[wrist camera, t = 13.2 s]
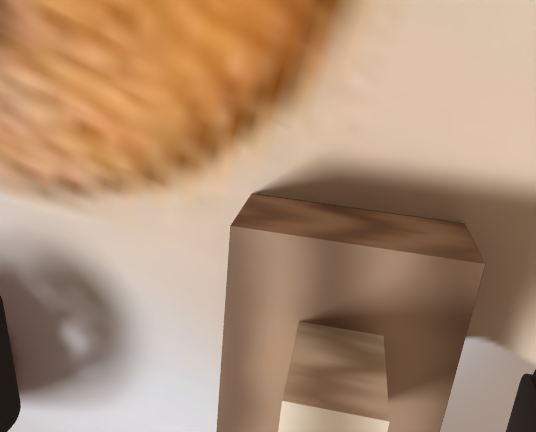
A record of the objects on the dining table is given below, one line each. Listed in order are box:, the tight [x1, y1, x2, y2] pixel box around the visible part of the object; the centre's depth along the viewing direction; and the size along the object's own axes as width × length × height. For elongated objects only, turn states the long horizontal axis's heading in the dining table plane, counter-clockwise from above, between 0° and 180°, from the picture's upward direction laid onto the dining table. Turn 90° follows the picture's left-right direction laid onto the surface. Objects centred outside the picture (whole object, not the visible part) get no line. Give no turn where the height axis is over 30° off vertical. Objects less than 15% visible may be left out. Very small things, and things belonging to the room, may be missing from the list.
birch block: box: [278, 321, 390, 432], centre depth 28 cm, size 5×5×7 cm
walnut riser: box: [217, 194, 485, 432], centre depth 34 cm, size 14×16×6 cm
